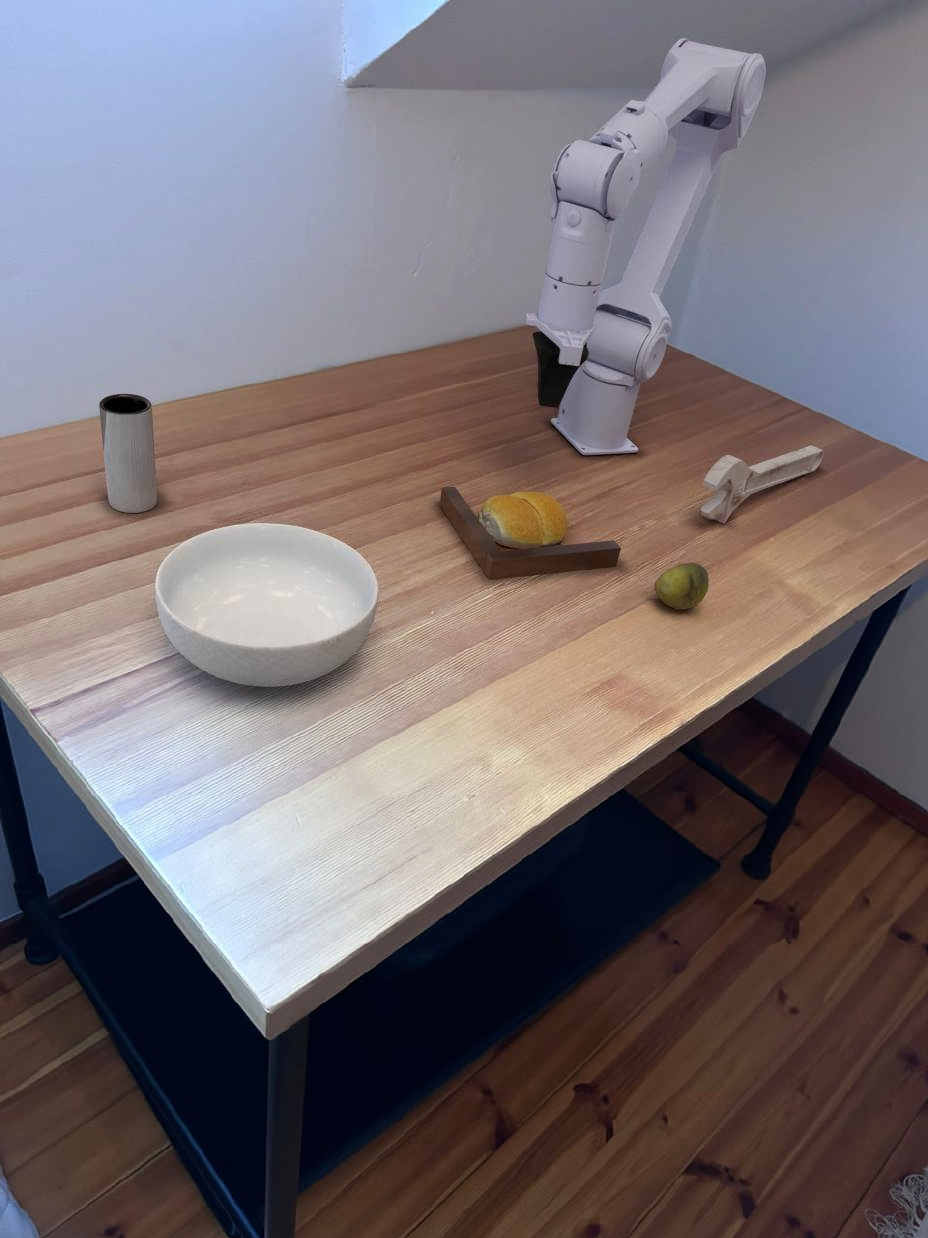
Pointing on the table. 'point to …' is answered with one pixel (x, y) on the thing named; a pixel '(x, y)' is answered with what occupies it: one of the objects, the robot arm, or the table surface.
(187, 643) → the cereal bowl
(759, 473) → the wrench
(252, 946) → the table surface
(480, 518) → the bread roll
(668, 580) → the lime
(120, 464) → the grey cylindrical vase
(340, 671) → the table surface
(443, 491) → the corner stop
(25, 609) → the table surface
